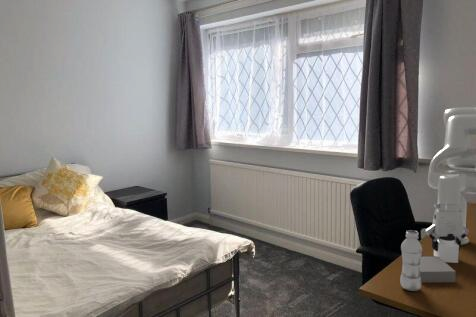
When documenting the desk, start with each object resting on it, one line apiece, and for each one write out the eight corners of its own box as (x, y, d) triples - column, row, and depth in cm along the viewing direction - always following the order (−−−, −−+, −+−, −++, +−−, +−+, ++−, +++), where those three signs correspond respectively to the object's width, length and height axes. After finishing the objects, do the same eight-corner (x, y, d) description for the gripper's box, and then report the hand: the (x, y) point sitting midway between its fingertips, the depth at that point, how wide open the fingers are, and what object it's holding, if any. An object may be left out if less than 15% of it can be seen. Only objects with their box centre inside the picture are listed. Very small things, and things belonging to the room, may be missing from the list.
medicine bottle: (458, 263, 150) (460, 233, 148) (438, 262, 151) (439, 232, 149) (452, 255, 157) (453, 227, 155) (433, 255, 158) (434, 226, 156)
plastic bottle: (412, 295, 127) (414, 236, 124) (395, 287, 133) (397, 231, 130) (425, 290, 130) (427, 233, 127) (408, 282, 136) (410, 227, 133)
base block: (405, 266, 148) (405, 256, 148) (437, 266, 148) (438, 256, 147) (419, 282, 135) (420, 271, 135) (455, 282, 135) (455, 271, 134)
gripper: (429, 210, 147) (427, 253, 150) (476, 209, 147) (473, 253, 149) (421, 204, 155) (419, 246, 157) (465, 203, 154) (463, 245, 157)
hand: (446, 249), depth 153 cm, fingers closed on medicine bottle, 7 cm apart
